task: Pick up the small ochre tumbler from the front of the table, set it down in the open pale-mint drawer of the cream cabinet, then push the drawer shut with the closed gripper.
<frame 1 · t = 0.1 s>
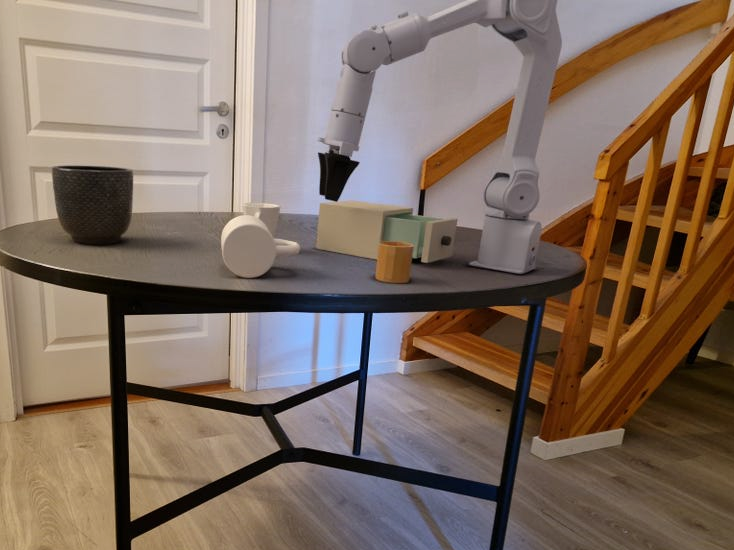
hand: (328, 198, 105), 10 cm above the table, tool pointing down, fingers open, 7 cm apart
drawer: (413, 235, 111), point 4 cm above the table, slide at 8.0 cm
planter: (96, 242, 114), on the table
cup: (258, 251, 113), on the table
tumbler: (392, 279, 96), on the table
mug: (259, 272, 96), on the table
cabinet: (362, 251, 119), on the table
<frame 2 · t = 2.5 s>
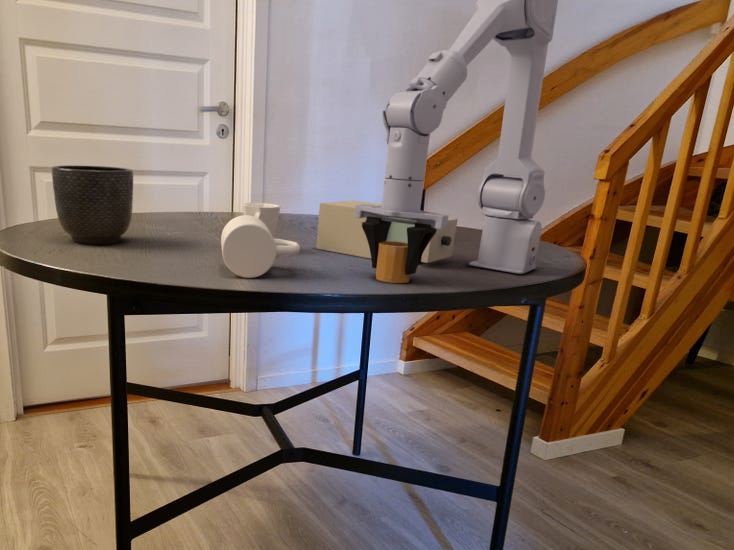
hand: (393, 270, 95), 1 cm above the table, tool pointing down, fingers closed on tumbler, 5 cm apart
tumbler: (392, 279, 96), on the table, touching gripper
everything else where it was.
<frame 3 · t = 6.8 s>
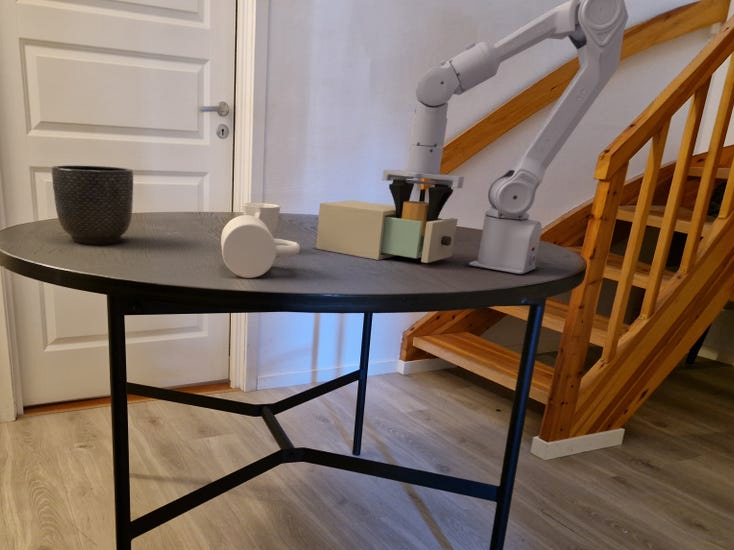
hand: (414, 226, 111), 6 cm above the table, tool pointing down, fingers closed on tumbler, 5 cm apart
tumbler: (414, 233, 111), point 5 cm above the table, touching gripper
everything else where it was.
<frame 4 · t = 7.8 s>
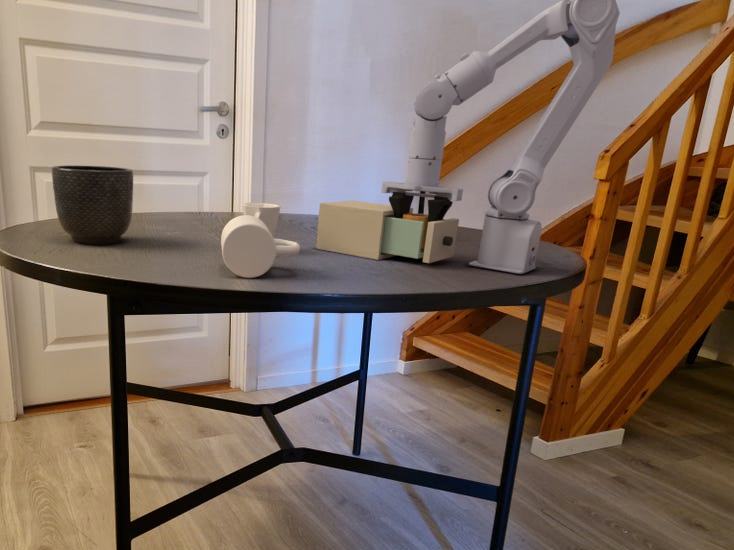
hand: (414, 238, 111), 4 cm above the table, tool pointing down, fingers closed on tumbler, 5 cm apart
tumbler: (414, 245, 112), point 3 cm above the table, touching gripper
everything else where it was.
when the fingers open (4 cm above the table, at t = 9.6 s): tumbler moves 1 cm, point 4 cm above the table.
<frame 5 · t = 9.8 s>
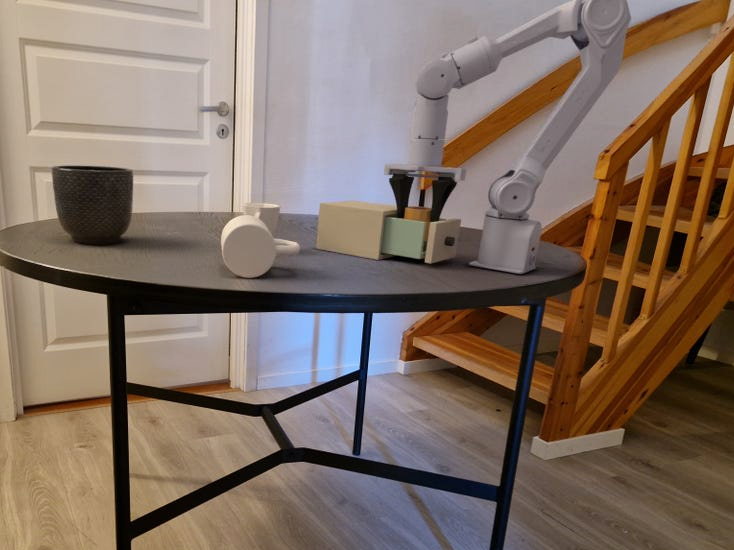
hand: (417, 219, 110), 7 cm above the table, tool pointing down, fingers open, 6 cm apart
drawer: (417, 236, 111), point 4 cm above the table, slide at 8.7 cm
tumbler: (416, 239, 112), point 4 cm above the table
everything else where it was.
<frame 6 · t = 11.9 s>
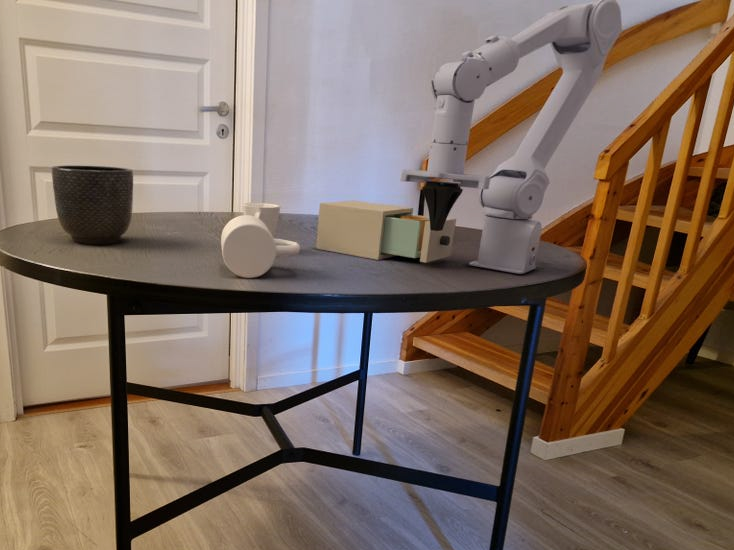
hand: (436, 230, 103), 7 cm above the table, tool pointing down, fingers closed
drawer: (412, 235, 112), point 4 cm above the table, slide at 7.7 cm, touching tumbler
tumbler: (411, 248, 113), point 2 cm above the table, touching drawer
everything else where it was.
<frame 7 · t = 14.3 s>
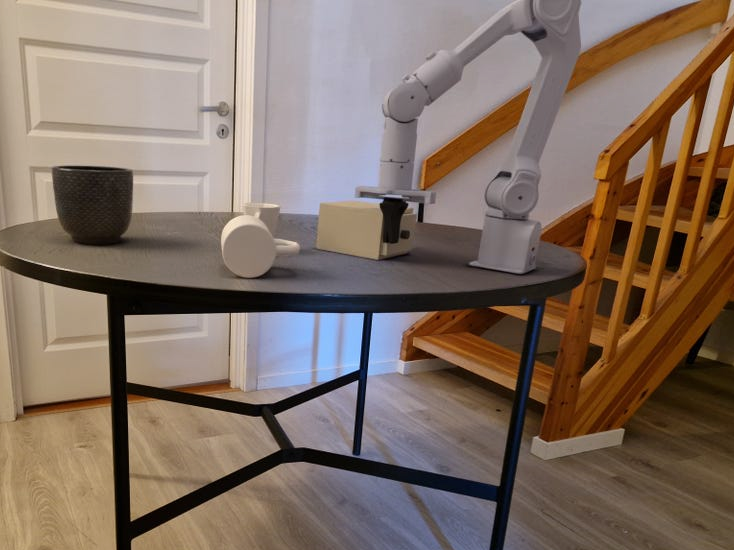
hand: (389, 242, 109), 3 cm above the table, tool pointing down, fingers closed, pressing on drawer
drawer: (375, 230, 116), point 4 cm above the table, slide at 0.0 cm, touching cabinet, gripper, tumbler
tumbler: (374, 242, 117), point 2 cm above the table, touching drawer
everything else where it was.
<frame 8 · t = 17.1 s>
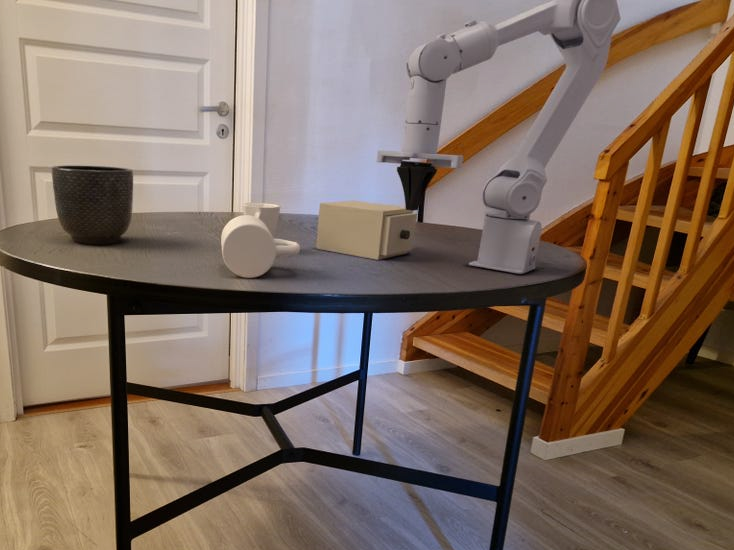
hand: (411, 209, 105), 9 cm above the table, tool pointing down, fingers closed
drawer: (375, 230, 116), point 4 cm above the table, slide at 0.0 cm, touching cabinet, tumbler
everything else where it was.
at the end: tumbler inside the target area in the cabinet (2.2 cm from its centre), point 2.0 cm above the cabinet's base; drawer slide at 0.0 cm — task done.
